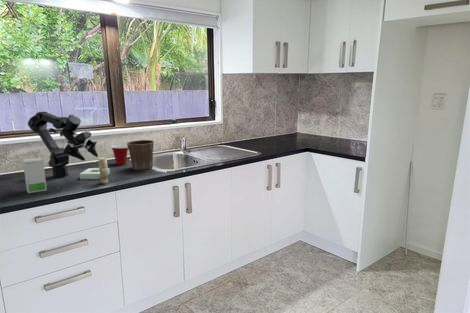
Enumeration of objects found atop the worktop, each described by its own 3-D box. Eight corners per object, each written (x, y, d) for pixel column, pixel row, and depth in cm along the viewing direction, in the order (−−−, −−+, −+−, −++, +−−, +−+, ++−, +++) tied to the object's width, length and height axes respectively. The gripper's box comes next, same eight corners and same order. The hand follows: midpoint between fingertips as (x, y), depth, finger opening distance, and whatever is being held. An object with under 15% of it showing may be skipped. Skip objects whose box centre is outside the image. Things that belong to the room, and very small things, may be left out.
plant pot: (123, 171, 195) (121, 144, 191) (135, 164, 210) (133, 139, 207) (149, 171, 192) (148, 144, 189) (159, 165, 208) (158, 140, 205)
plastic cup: (132, 164, 210) (131, 146, 208) (115, 166, 204) (113, 148, 202) (127, 161, 219) (126, 143, 216) (111, 163, 213) (109, 145, 211)
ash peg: (99, 183, 170) (96, 159, 167) (102, 181, 174) (99, 157, 171) (107, 183, 170) (105, 159, 167) (110, 181, 174) (108, 157, 171)
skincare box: (27, 193, 156) (22, 161, 152) (26, 190, 161) (21, 159, 157) (47, 190, 160) (43, 159, 157) (46, 187, 166) (41, 157, 162)
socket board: (80, 179, 178) (79, 174, 178) (89, 173, 190) (88, 168, 189) (102, 178, 179) (101, 173, 178) (109, 173, 190) (109, 168, 190)
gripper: (64, 128, 161) (85, 151, 160) (92, 124, 178) (111, 145, 177) (54, 143, 165) (74, 166, 164) (82, 137, 182) (100, 158, 181)
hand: (91, 158), depth 171 cm, fingers open, 9 cm apart
